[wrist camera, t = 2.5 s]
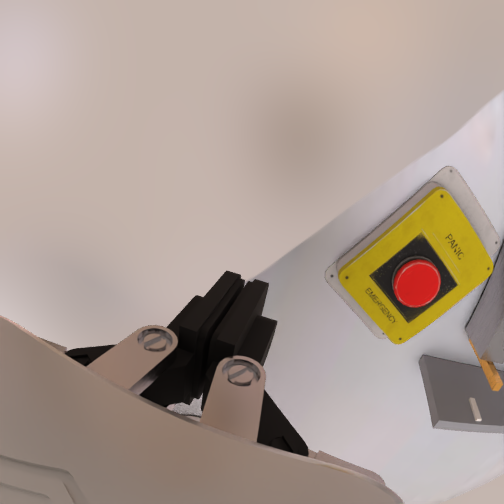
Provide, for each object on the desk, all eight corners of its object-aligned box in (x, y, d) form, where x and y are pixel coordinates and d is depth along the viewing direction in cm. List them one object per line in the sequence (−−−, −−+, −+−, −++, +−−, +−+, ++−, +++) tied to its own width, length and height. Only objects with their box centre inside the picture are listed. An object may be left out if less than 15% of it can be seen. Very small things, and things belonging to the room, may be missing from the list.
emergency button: (315, 293, 24) (467, 163, 17) (320, 271, 28) (448, 160, 21) (384, 367, 24) (522, 259, 18) (380, 339, 28) (500, 242, 22)
